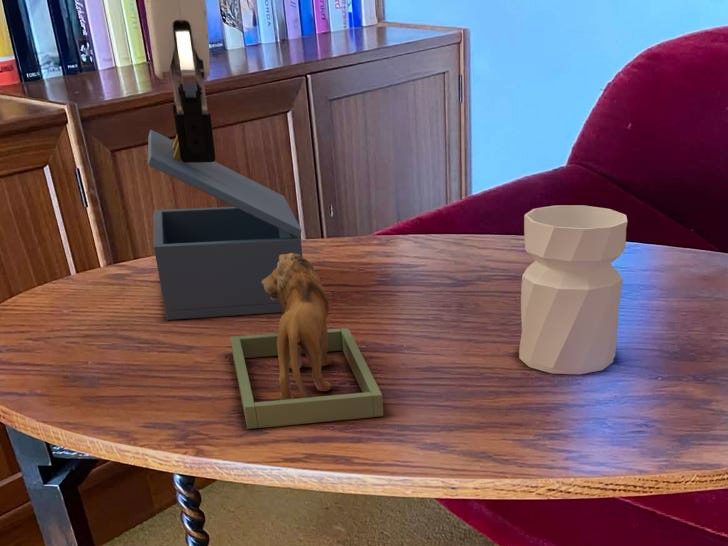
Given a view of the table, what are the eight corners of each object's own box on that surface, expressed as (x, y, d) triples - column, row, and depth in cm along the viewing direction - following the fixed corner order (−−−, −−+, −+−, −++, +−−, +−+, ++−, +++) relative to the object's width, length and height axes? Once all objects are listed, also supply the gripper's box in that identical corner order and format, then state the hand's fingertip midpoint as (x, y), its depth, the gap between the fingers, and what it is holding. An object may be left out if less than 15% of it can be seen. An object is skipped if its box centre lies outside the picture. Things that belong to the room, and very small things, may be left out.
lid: (147, 165, 86) (166, 106, 84) (148, 137, 99) (164, 85, 97) (298, 238, 93) (320, 185, 91) (281, 203, 106) (299, 156, 103)
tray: (247, 429, 74) (244, 407, 72) (232, 356, 86) (230, 336, 85) (383, 416, 76) (382, 394, 75) (349, 347, 89) (348, 327, 88)
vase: (551, 381, 83) (559, 233, 75) (501, 350, 89) (505, 210, 82) (634, 365, 86) (650, 222, 79) (580, 336, 92) (590, 201, 85)
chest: (166, 320, 94) (153, 246, 90) (164, 276, 107) (153, 210, 103) (307, 310, 97) (301, 239, 93) (289, 269, 110) (283, 204, 106)
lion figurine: (269, 352, 87) (257, 249, 82) (328, 348, 88) (319, 246, 83) (281, 415, 76) (267, 299, 70) (348, 410, 77) (340, 295, 72)
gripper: (123, -73, 89) (155, 142, 100) (120, -78, 76) (158, 172, 86) (206, -70, 91) (229, 142, 102) (218, -73, 78) (243, 171, 88)
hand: (196, 154), depth 94 cm, fingers closed on lid, 6 cm apart
